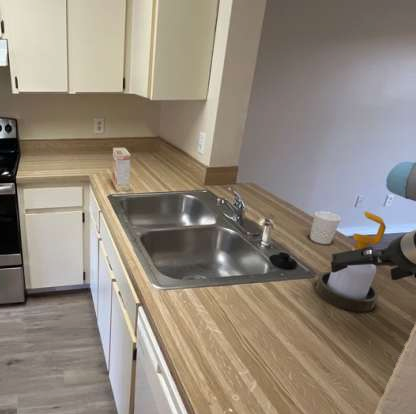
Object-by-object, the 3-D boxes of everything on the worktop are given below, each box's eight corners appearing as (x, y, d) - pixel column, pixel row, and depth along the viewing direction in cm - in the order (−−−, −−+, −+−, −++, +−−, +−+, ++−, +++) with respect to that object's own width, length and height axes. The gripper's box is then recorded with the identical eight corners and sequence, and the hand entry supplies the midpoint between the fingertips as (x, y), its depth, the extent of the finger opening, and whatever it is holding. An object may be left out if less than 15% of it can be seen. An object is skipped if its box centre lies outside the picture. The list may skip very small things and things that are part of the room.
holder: (366, 287, 97) (370, 278, 96) (380, 317, 86) (385, 306, 84) (312, 276, 102) (315, 267, 101) (319, 303, 91) (323, 293, 90)
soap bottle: (325, 280, 99) (349, 205, 90) (362, 289, 95) (392, 212, 85) (326, 296, 92) (353, 217, 83) (366, 308, 88) (400, 225, 78)
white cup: (303, 235, 127) (309, 212, 123) (321, 234, 128) (328, 210, 124) (319, 246, 119) (327, 221, 115) (338, 244, 121) (346, 219, 117)
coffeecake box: (112, 181, 186) (112, 147, 178) (124, 181, 186) (125, 147, 178) (116, 191, 172) (116, 154, 164) (129, 190, 173) (131, 154, 165)
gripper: (351, 259, 69) (309, 278, 88) (501, 277, 63) (421, 292, 82) (348, 225, 71) (308, 250, 91) (492, 239, 65) (416, 263, 85)
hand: (362, 270), depth 86 cm, fingers open, 13 cm apart
